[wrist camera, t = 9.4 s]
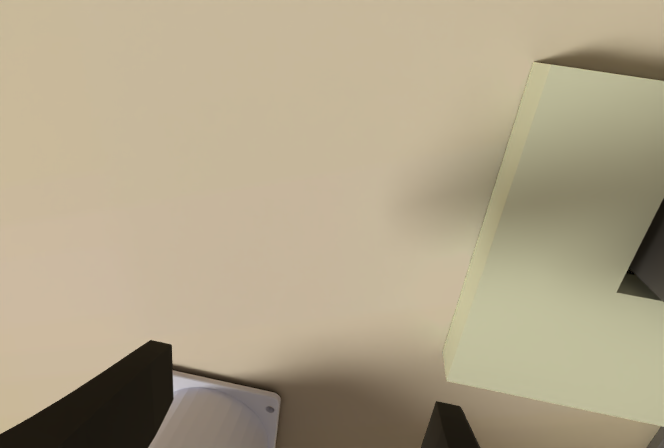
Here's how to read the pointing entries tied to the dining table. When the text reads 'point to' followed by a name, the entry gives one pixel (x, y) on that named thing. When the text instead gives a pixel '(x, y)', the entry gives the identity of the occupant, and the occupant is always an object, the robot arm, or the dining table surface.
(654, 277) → the charger
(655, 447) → the phone
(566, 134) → the outlet board
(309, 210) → the dining table surface
